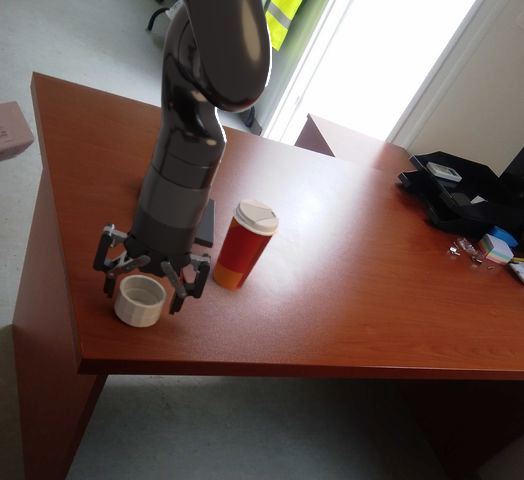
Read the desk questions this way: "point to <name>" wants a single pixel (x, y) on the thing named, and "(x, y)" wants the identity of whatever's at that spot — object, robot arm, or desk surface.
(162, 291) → the bowl
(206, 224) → the scale
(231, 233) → the paper cup
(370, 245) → the desk surface
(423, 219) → the desk surface
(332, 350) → the desk surface
